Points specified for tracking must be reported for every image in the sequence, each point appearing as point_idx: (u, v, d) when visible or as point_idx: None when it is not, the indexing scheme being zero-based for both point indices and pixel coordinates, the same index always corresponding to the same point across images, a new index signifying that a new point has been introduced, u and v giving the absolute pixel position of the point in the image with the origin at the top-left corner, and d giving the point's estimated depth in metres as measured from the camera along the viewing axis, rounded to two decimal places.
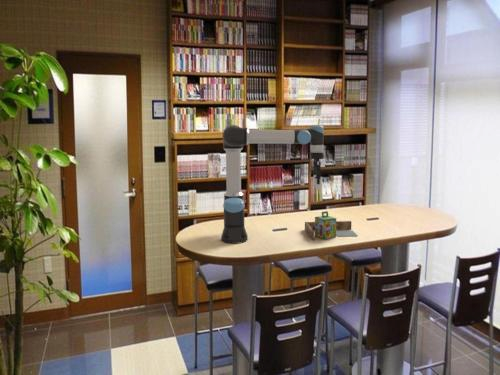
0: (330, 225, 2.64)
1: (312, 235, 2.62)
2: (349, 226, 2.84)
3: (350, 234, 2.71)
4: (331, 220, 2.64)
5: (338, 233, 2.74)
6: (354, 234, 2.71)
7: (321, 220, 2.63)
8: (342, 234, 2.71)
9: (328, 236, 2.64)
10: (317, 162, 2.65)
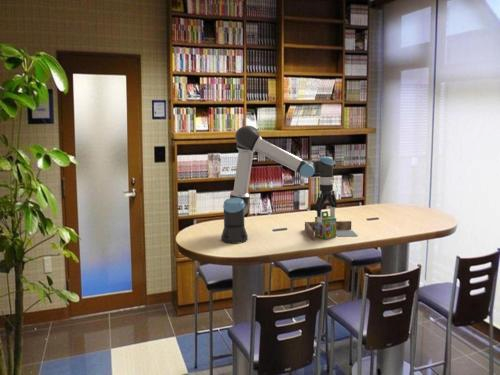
0: (330, 225, 2.64)
1: (312, 235, 2.62)
2: (349, 226, 2.84)
3: (350, 234, 2.71)
4: (331, 220, 2.64)
5: (338, 233, 2.74)
6: (354, 234, 2.71)
7: None
8: (342, 234, 2.71)
9: (328, 236, 2.64)
10: (318, 194, 2.60)
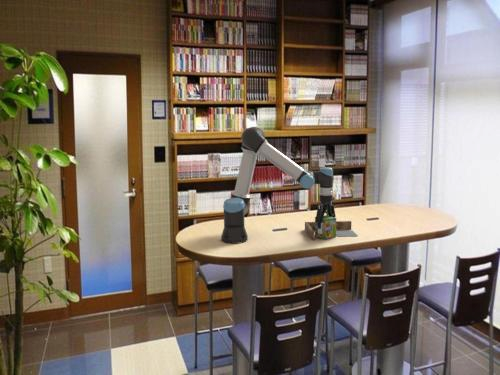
0: (330, 225, 2.64)
1: (312, 235, 2.62)
2: (349, 226, 2.84)
3: (350, 234, 2.71)
4: (331, 220, 2.64)
5: (338, 233, 2.74)
6: (354, 234, 2.71)
7: None
8: (342, 234, 2.71)
9: (328, 236, 2.64)
10: (318, 206, 2.61)
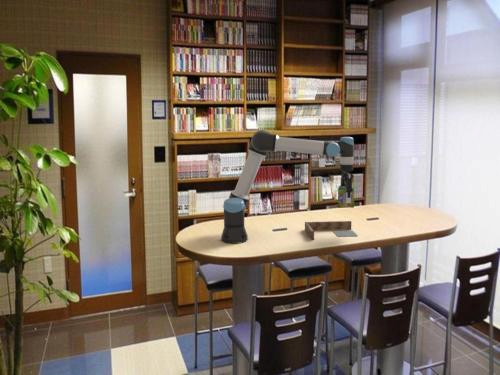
0: None
1: (312, 235, 2.62)
2: (349, 226, 2.84)
3: (350, 234, 2.71)
4: None
5: (338, 233, 2.74)
6: (354, 234, 2.71)
7: None
8: (342, 234, 2.71)
9: None
10: (348, 175, 2.61)
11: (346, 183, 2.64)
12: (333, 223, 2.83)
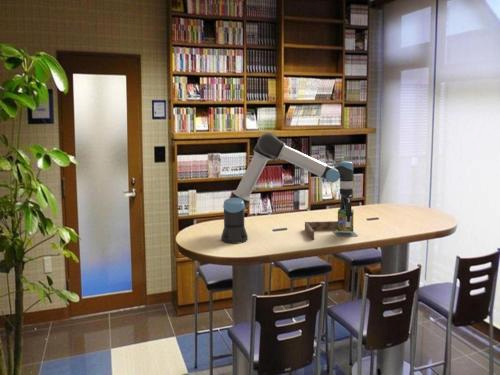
0: None
1: (312, 235, 2.62)
2: None
3: (350, 234, 2.71)
4: (353, 211, 2.72)
5: (338, 233, 2.74)
6: (354, 234, 2.71)
7: None
8: (342, 234, 2.71)
9: None
10: (348, 200, 2.64)
11: (346, 207, 2.67)
12: (333, 223, 2.83)
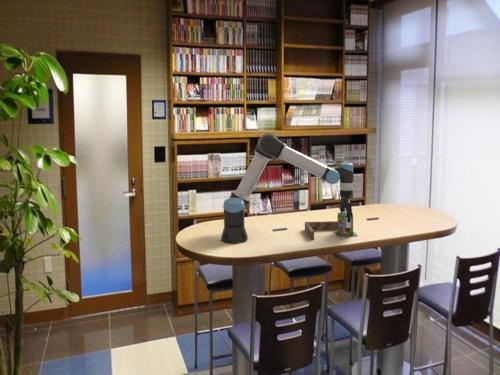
0: None
1: (312, 235, 2.62)
2: None
3: None
4: None
5: None
6: (354, 234, 2.71)
7: None
8: None
9: None
10: (348, 200, 2.64)
11: (346, 208, 2.66)
12: (333, 223, 2.83)
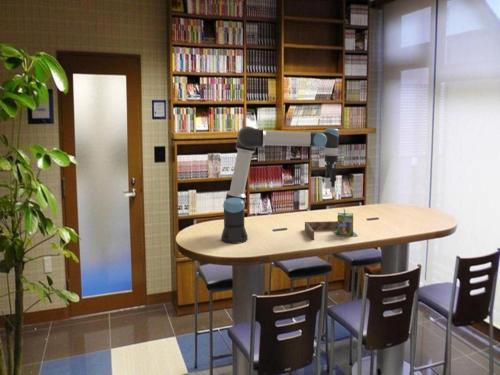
0: None
1: (312, 235, 2.62)
2: None
3: None
4: None
5: None
6: (354, 234, 2.71)
7: (348, 217, 2.68)
8: None
9: None
10: (332, 165, 2.66)
11: (330, 173, 2.68)
12: (333, 223, 2.83)
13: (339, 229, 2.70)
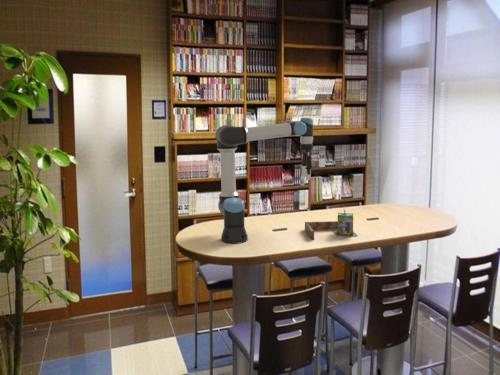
0: None
1: (312, 235, 2.62)
2: None
3: None
4: None
5: None
6: (354, 234, 2.71)
7: (348, 217, 2.68)
8: None
9: None
10: (307, 153, 2.73)
11: (306, 161, 2.75)
12: (333, 223, 2.83)
13: (339, 229, 2.70)
